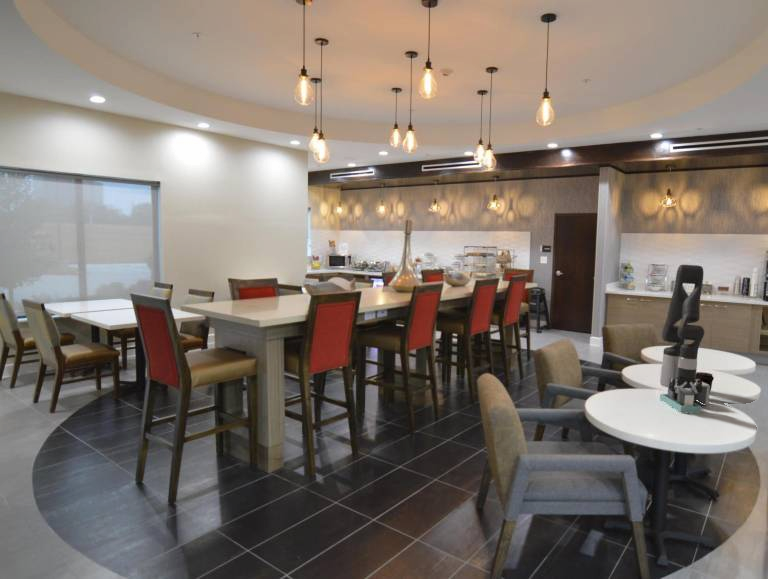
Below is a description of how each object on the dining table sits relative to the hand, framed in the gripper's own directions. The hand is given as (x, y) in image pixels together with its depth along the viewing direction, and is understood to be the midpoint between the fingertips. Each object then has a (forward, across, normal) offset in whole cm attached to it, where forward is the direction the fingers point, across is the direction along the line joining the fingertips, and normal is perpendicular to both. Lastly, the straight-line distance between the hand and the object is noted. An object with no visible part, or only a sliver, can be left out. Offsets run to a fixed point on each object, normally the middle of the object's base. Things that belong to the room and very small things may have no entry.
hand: (684, 400), depth 241 cm
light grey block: (+4, -10, -9) cm, 14 cm away
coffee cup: (+4, -19, -17) cm, 26 cm away
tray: (+4, 0, -3) cm, 5 cm away
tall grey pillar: (+4, 0, -3) cm, 5 cm away
